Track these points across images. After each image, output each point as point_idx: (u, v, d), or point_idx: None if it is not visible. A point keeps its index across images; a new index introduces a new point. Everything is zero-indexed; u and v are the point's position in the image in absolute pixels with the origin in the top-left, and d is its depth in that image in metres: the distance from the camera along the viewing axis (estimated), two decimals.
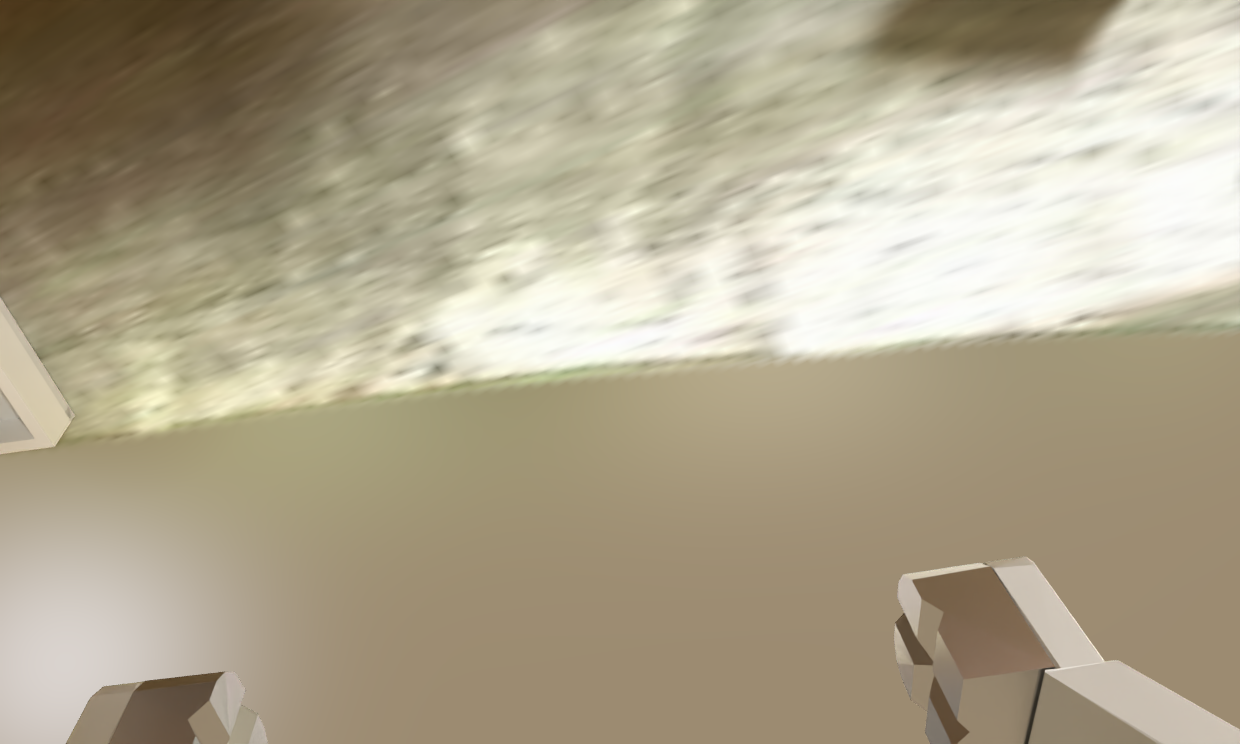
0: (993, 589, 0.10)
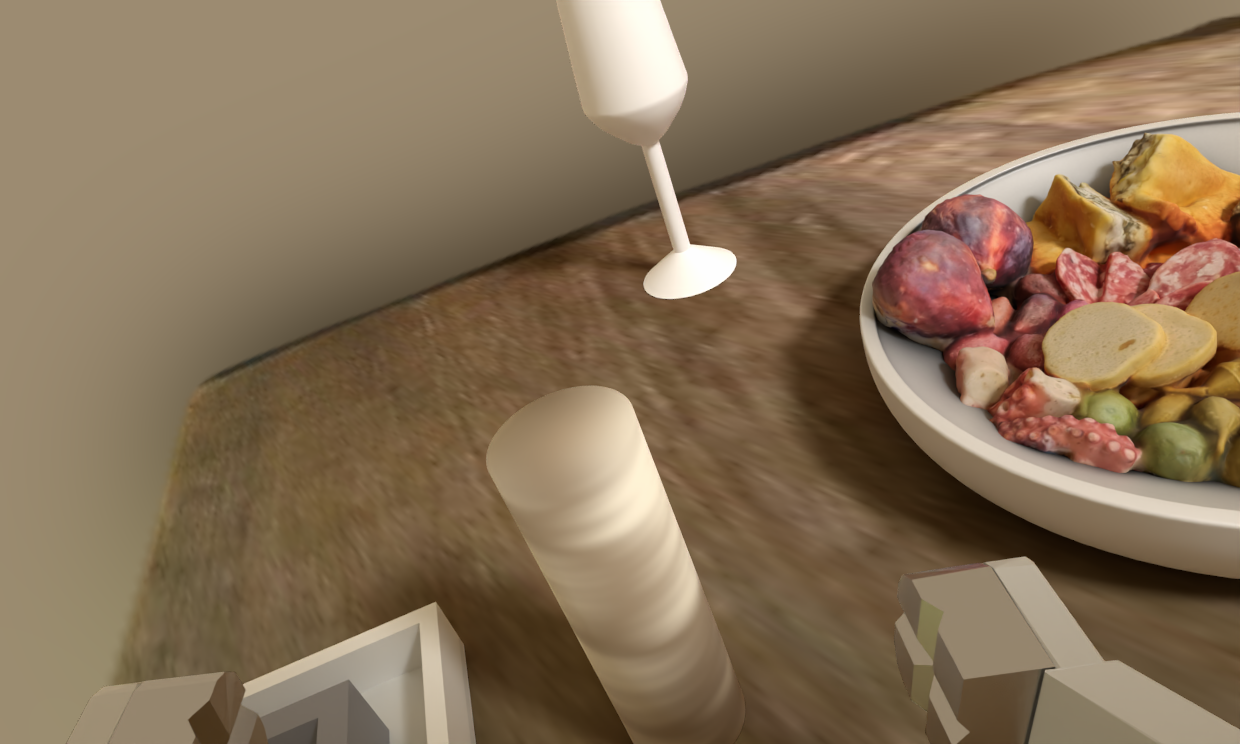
0: (993, 589, 0.10)
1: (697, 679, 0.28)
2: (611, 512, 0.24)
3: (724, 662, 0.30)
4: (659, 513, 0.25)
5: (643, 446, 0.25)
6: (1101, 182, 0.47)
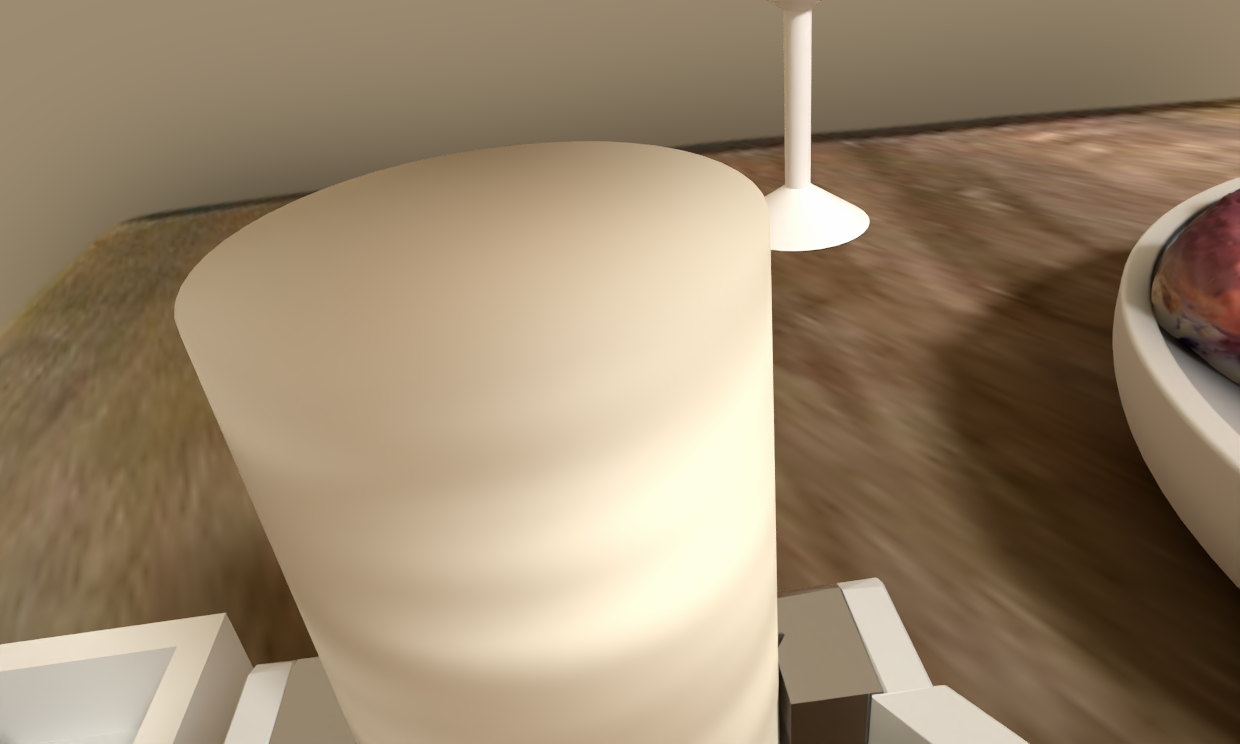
0: (837, 611, 0.10)
1: None
2: (586, 561, 0.06)
3: None
4: (752, 600, 0.07)
5: (768, 349, 0.07)
6: None
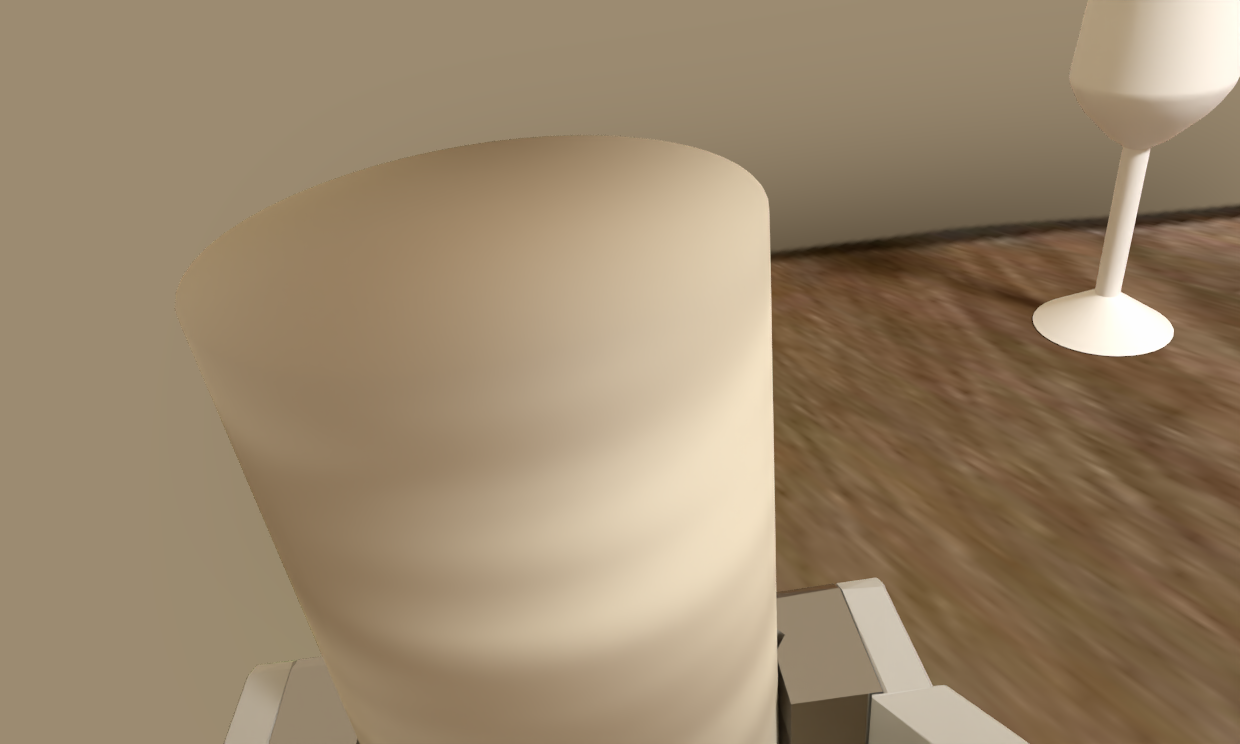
0: (837, 611, 0.10)
1: None
2: (586, 551, 0.06)
3: None
4: (752, 594, 0.07)
5: (767, 341, 0.07)
6: None
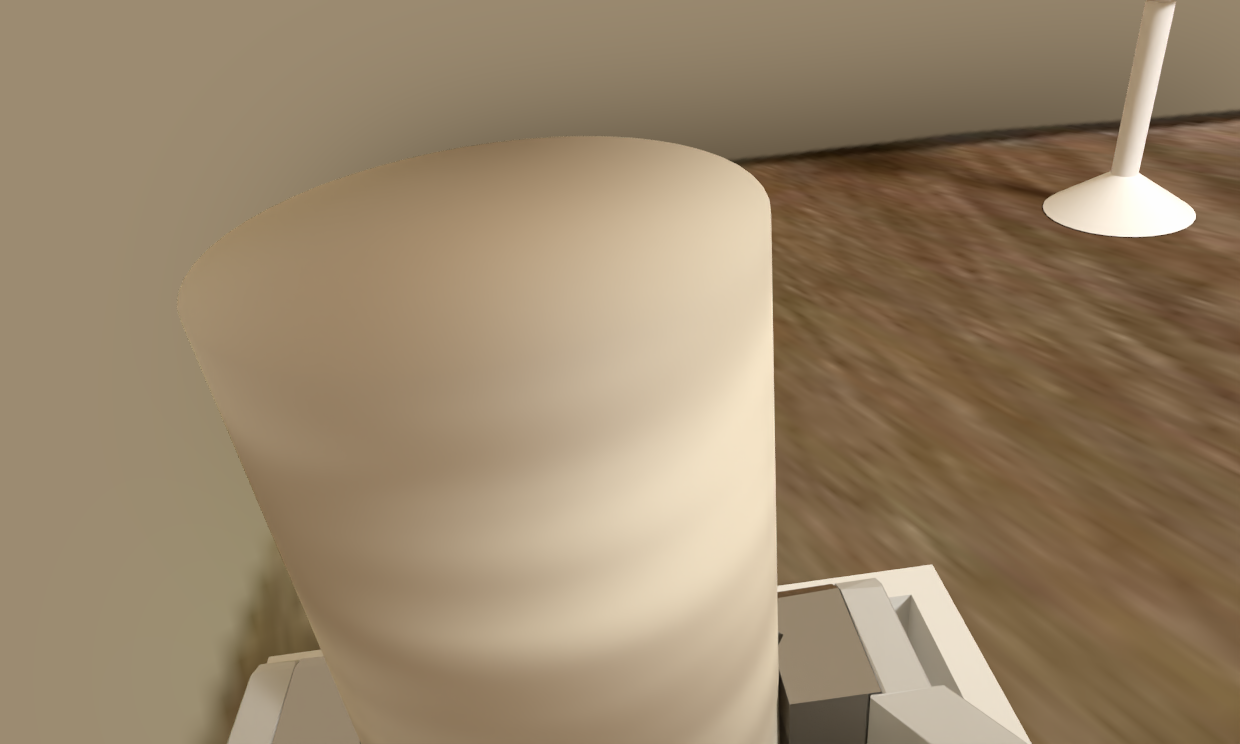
0: (836, 611, 0.10)
1: None
2: (588, 552, 0.06)
3: None
4: (753, 593, 0.07)
5: (769, 342, 0.07)
6: None
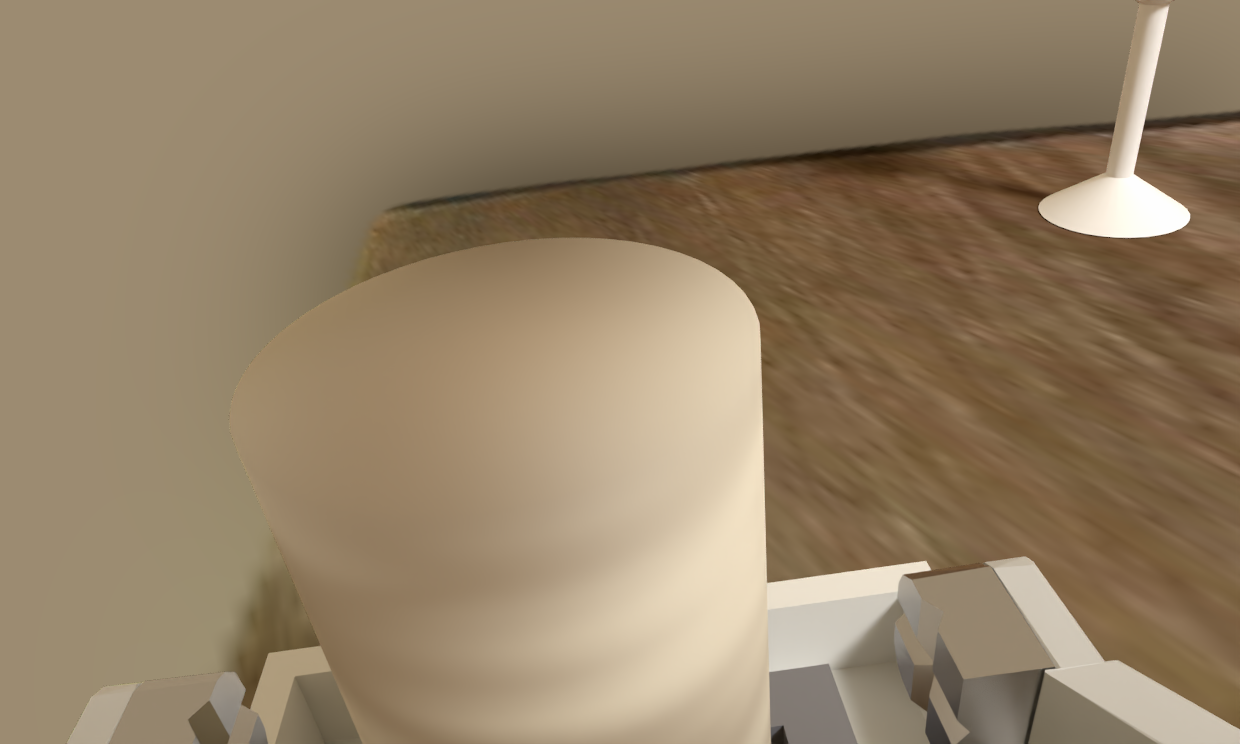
0: (993, 589, 0.10)
1: None
2: (598, 653, 0.06)
3: None
4: (746, 670, 0.08)
5: (759, 450, 0.07)
6: None
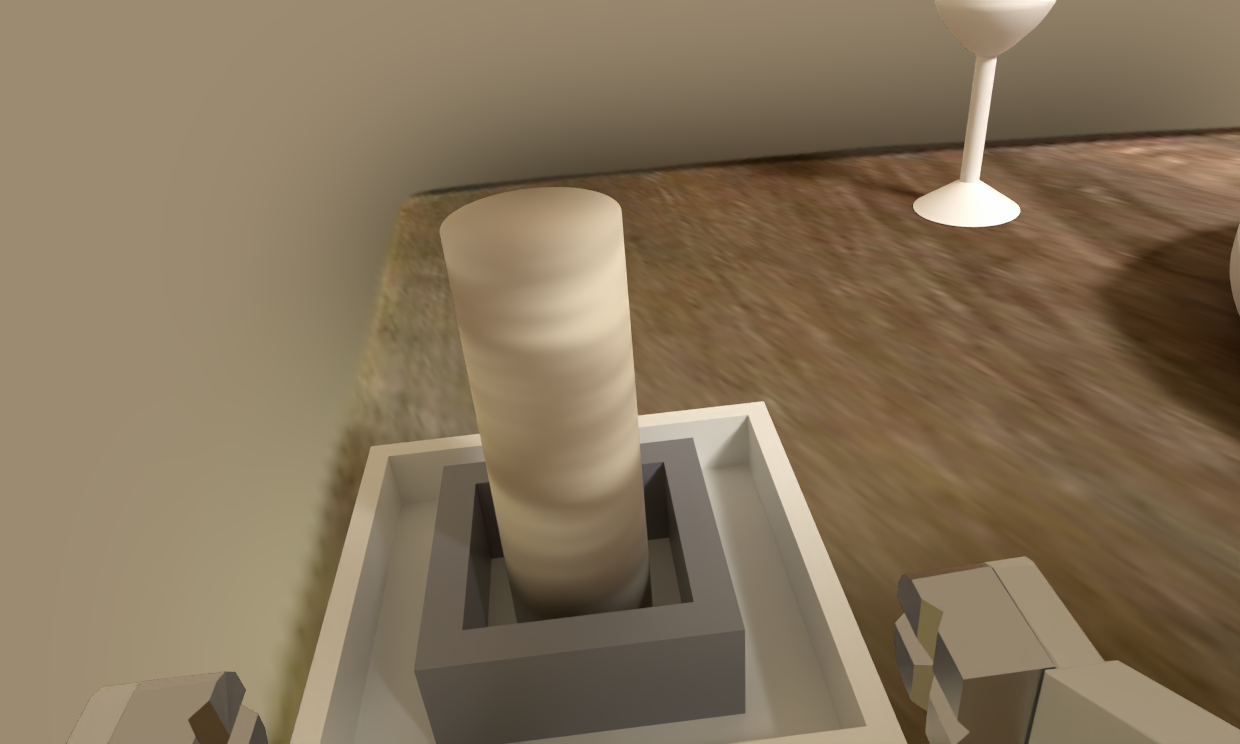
0: (993, 588, 0.10)
1: (607, 562, 0.25)
2: (563, 311, 0.20)
3: (642, 560, 0.26)
4: (617, 343, 0.22)
5: (620, 257, 0.21)
6: None
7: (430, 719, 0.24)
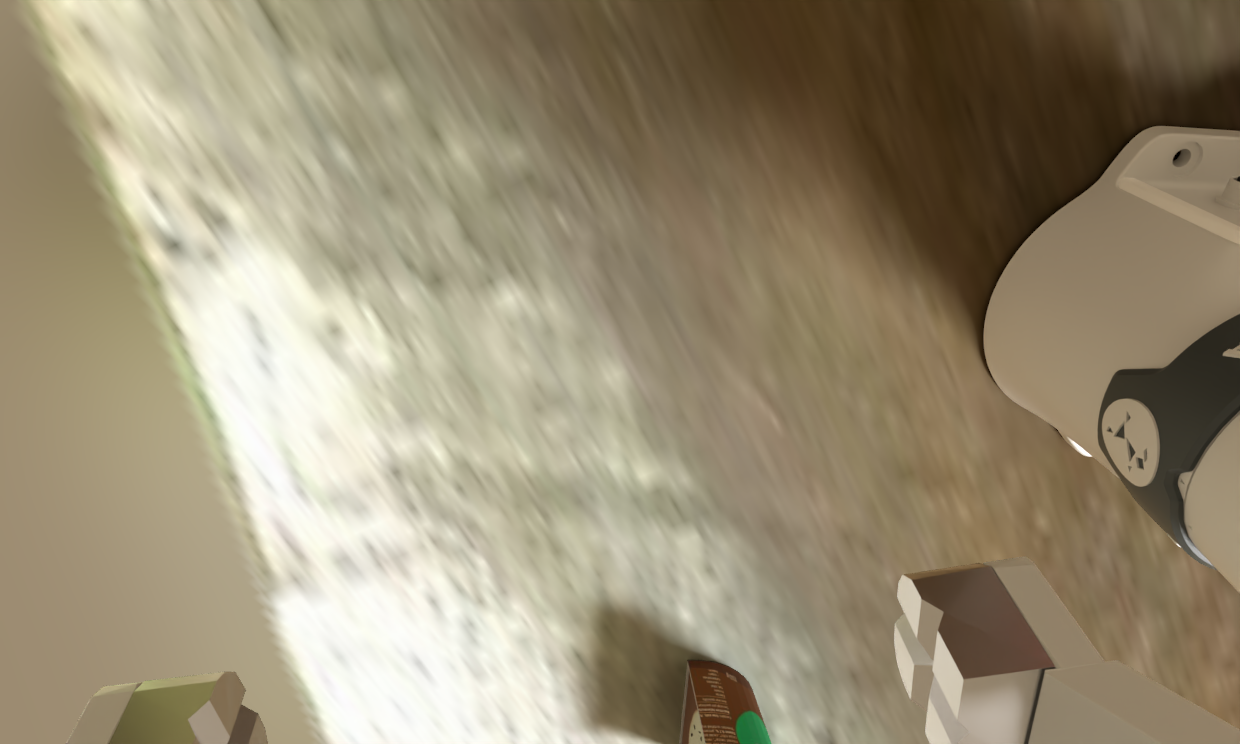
0: (993, 589, 0.10)
1: None
2: None
3: None
4: None
5: None
6: None
7: None
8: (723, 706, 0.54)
